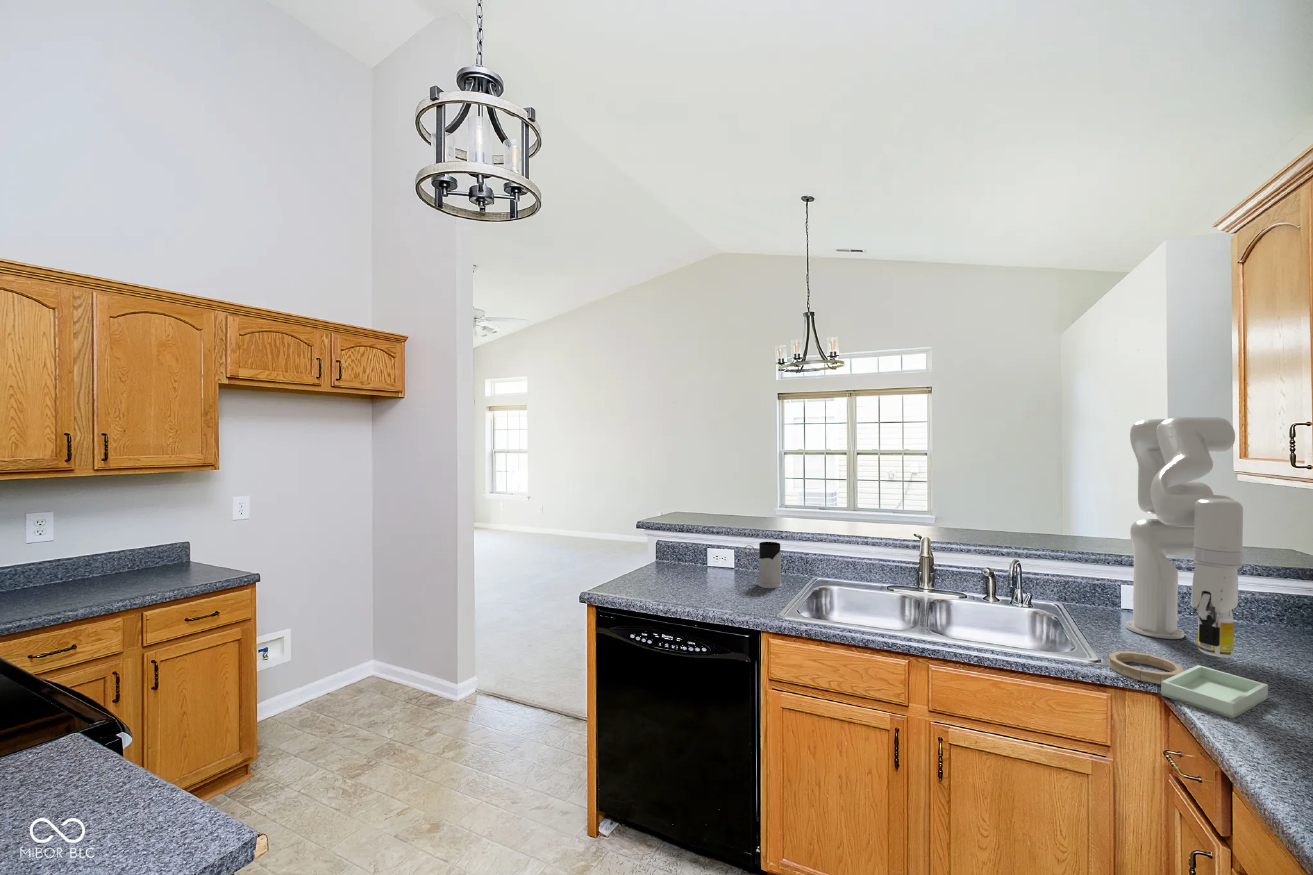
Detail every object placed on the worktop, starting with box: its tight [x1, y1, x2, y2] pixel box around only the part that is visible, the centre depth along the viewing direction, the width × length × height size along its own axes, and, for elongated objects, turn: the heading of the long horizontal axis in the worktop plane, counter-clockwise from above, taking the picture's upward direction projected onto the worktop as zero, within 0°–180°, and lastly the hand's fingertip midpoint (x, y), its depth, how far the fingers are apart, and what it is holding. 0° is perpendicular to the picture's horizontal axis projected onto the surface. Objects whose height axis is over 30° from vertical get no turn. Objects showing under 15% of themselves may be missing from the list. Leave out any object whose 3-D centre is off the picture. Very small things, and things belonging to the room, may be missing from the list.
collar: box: [1108, 650, 1185, 685], centre depth 140 cm, size 13×13×2 cm
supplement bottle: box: [1197, 608, 1235, 658], centre depth 126 cm, size 6×6×10 cm
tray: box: [1160, 664, 1269, 720], centre depth 127 cm, size 18×12×3 cm, turn 119°
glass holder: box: [743, 541, 783, 589], centre depth 216 cm, size 9×14×15 cm, turn 64°
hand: (1215, 640), depth 127 cm, fingers closed on supplement bottle, 5 cm apart
